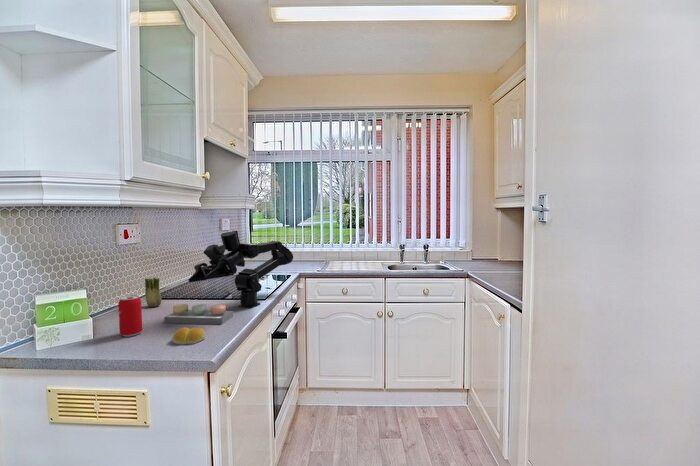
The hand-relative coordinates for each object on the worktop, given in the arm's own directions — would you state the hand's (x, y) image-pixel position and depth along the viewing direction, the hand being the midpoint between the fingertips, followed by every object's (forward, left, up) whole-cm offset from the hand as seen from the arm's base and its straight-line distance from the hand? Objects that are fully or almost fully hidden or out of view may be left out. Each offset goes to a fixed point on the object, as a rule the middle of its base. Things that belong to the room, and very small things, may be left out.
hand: (197, 279), depth 123 cm
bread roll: (+13, +10, -16) cm, 23 cm away
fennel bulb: (-8, -34, -16) cm, 38 cm away
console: (-3, -3, -15) cm, 16 cm away
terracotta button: (-6, +3, -13) cm, 14 cm away
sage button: (-3, -3, -13) cm, 13 cm away
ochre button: (-1, -10, -13) cm, 16 cm away
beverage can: (+17, -11, -16) cm, 25 cm away
